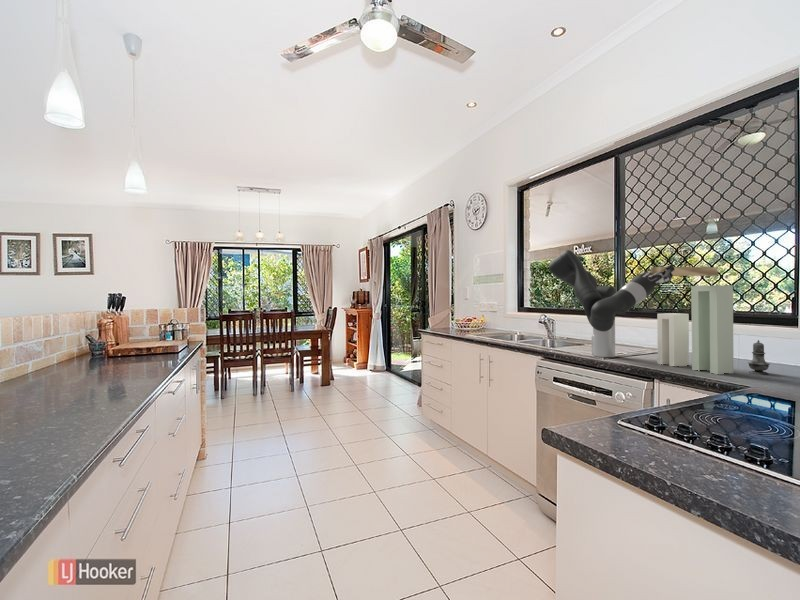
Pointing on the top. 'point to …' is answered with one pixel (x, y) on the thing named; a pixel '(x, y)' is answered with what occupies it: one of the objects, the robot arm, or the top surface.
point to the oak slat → (689, 271)
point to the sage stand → (712, 328)
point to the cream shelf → (673, 339)
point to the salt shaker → (758, 360)
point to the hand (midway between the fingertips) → (667, 267)
